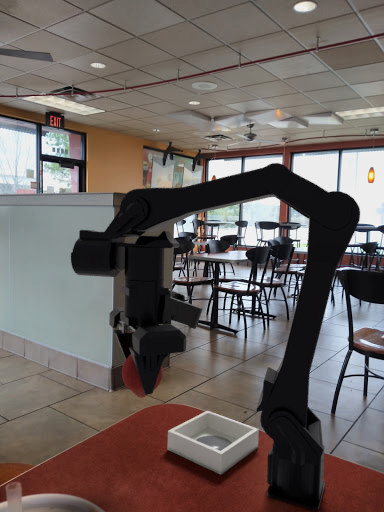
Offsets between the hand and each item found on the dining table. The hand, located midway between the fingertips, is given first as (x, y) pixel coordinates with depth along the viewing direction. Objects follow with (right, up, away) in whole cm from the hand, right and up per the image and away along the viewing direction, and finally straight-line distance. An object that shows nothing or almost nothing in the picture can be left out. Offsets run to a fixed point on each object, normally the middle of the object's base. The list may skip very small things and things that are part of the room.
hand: (142, 386), depth 61 cm
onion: (0, -2, 0) cm, 2 cm away
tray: (+11, -12, +5) cm, 16 cm away
